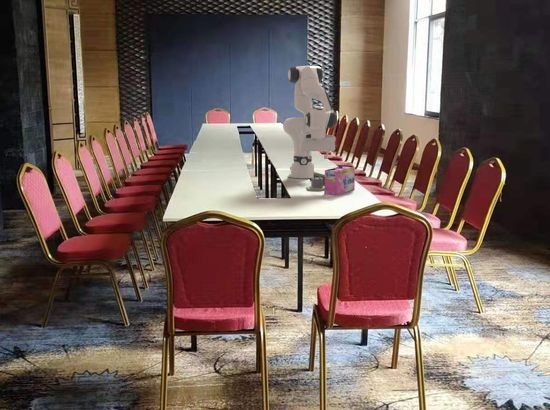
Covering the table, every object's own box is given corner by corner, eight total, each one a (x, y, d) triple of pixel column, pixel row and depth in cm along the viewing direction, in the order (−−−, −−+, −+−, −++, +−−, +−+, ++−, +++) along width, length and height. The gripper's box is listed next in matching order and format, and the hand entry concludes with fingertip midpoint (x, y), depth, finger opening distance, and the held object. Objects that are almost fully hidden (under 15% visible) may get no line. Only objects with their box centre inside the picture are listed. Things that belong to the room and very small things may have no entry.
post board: (306, 188, 352) (306, 177, 351) (333, 188, 353) (333, 177, 352) (308, 190, 344) (308, 180, 343) (335, 190, 346) (336, 179, 344)
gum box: (343, 188, 354) (344, 165, 351) (355, 189, 350) (356, 166, 347) (323, 194, 335) (324, 170, 332) (336, 195, 330) (336, 171, 327)
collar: (311, 185, 353) (311, 177, 352) (321, 185, 354) (321, 177, 353) (312, 187, 347) (312, 179, 346) (323, 187, 348) (323, 179, 347)
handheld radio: (328, 187, 356) (307, 181, 378) (332, 187, 357) (312, 181, 379) (328, 176, 354) (308, 171, 376) (333, 176, 356) (312, 170, 378)
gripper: (334, 134, 348) (334, 157, 351) (299, 134, 347) (299, 158, 349) (336, 135, 342) (336, 159, 345) (301, 135, 340) (300, 159, 343)
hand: (317, 158), depth 347 cm, fingers open, 8 cm apart
